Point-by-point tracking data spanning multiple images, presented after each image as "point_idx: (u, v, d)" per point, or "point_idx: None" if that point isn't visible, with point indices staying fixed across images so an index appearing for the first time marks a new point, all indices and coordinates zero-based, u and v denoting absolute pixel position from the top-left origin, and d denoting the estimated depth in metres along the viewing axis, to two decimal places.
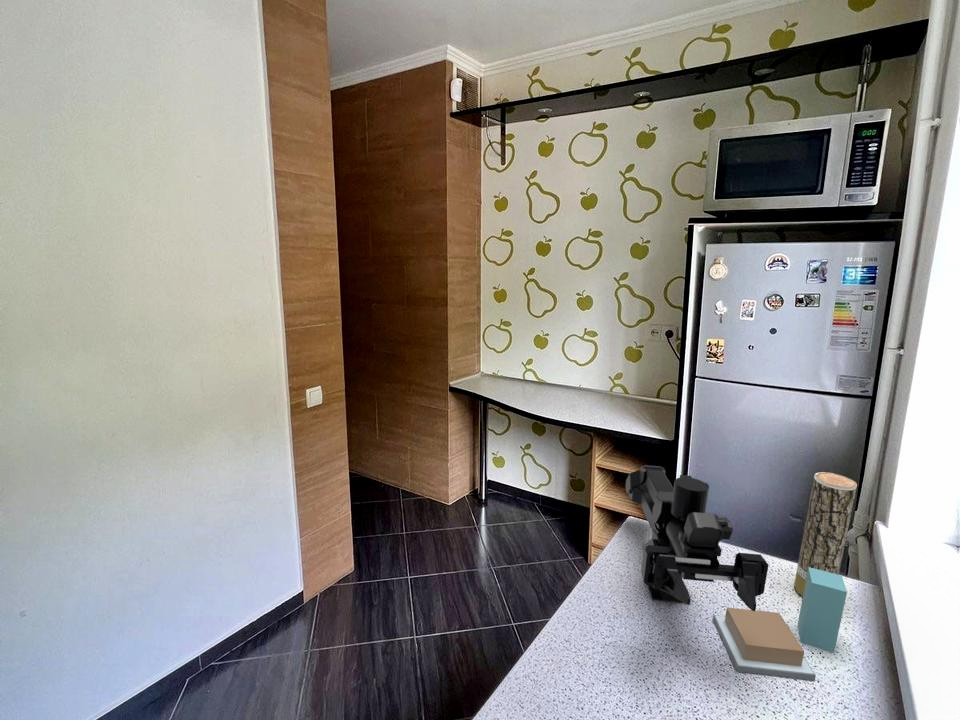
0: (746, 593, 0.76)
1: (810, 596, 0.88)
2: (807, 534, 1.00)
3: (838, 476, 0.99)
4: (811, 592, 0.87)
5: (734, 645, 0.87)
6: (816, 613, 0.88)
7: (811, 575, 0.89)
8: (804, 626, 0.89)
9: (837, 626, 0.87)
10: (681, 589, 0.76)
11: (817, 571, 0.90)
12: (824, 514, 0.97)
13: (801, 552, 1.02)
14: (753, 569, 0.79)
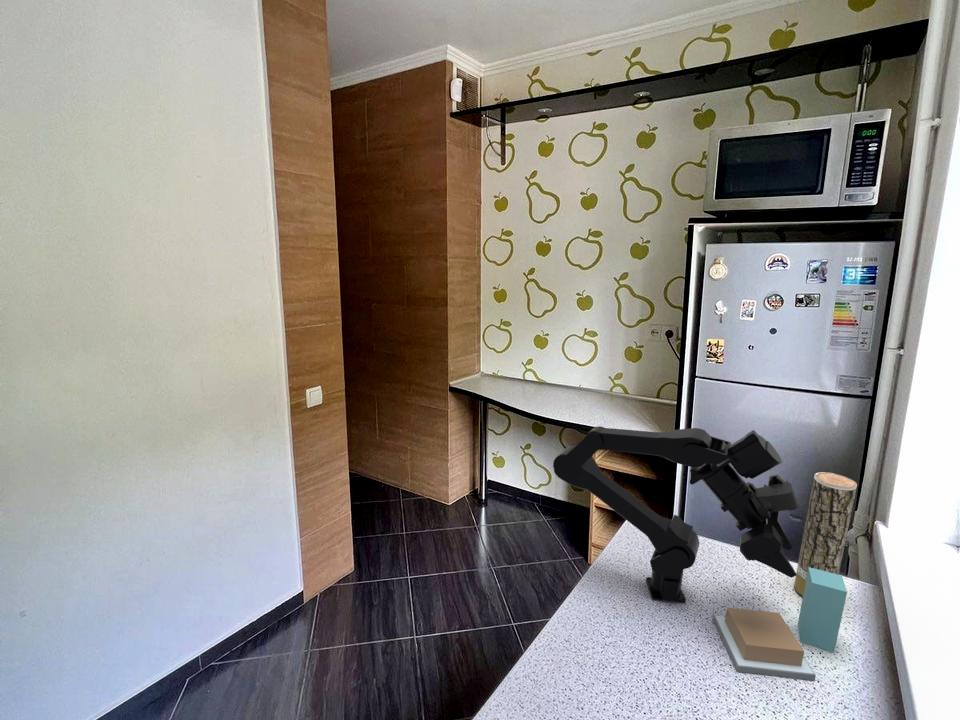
0: (779, 535, 0.94)
1: (810, 596, 0.88)
2: (807, 534, 1.00)
3: (838, 476, 0.99)
4: (811, 592, 0.87)
5: (734, 645, 0.87)
6: (816, 613, 0.88)
7: (811, 575, 0.89)
8: (804, 626, 0.89)
9: (837, 626, 0.87)
10: (790, 567, 0.85)
11: (817, 571, 0.90)
12: (824, 514, 0.97)
13: (801, 552, 1.02)
14: None
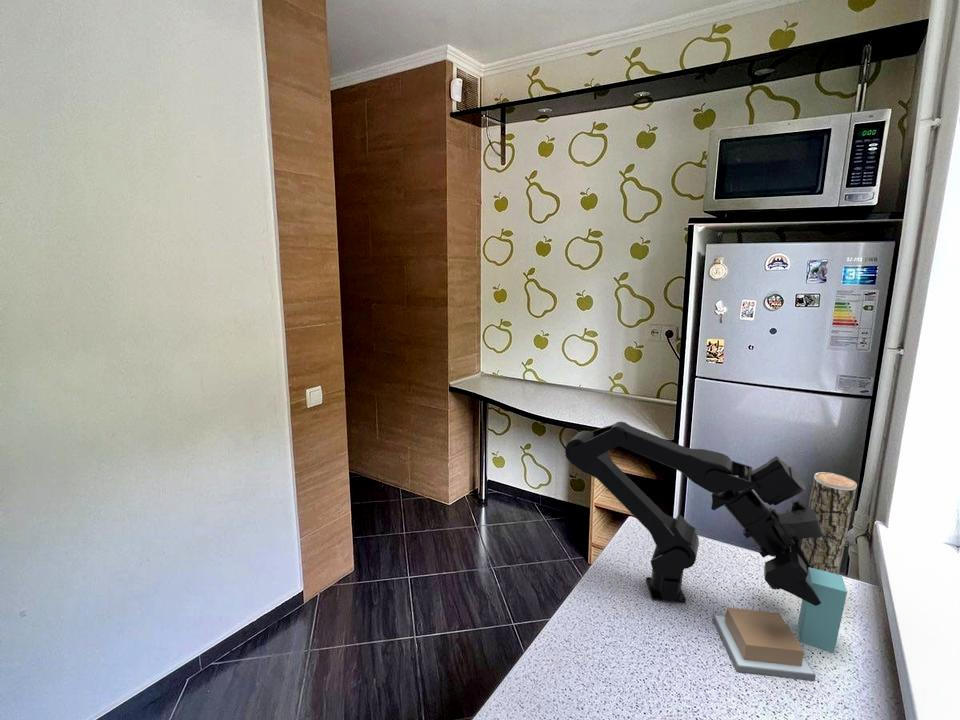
0: None
1: None
2: None
3: (838, 476, 0.99)
4: None
5: (734, 645, 0.87)
6: (816, 613, 0.88)
7: (811, 575, 0.89)
8: (804, 626, 0.89)
9: (837, 626, 0.87)
10: (815, 595, 0.85)
11: (817, 571, 0.90)
12: (824, 514, 0.97)
13: None
14: None
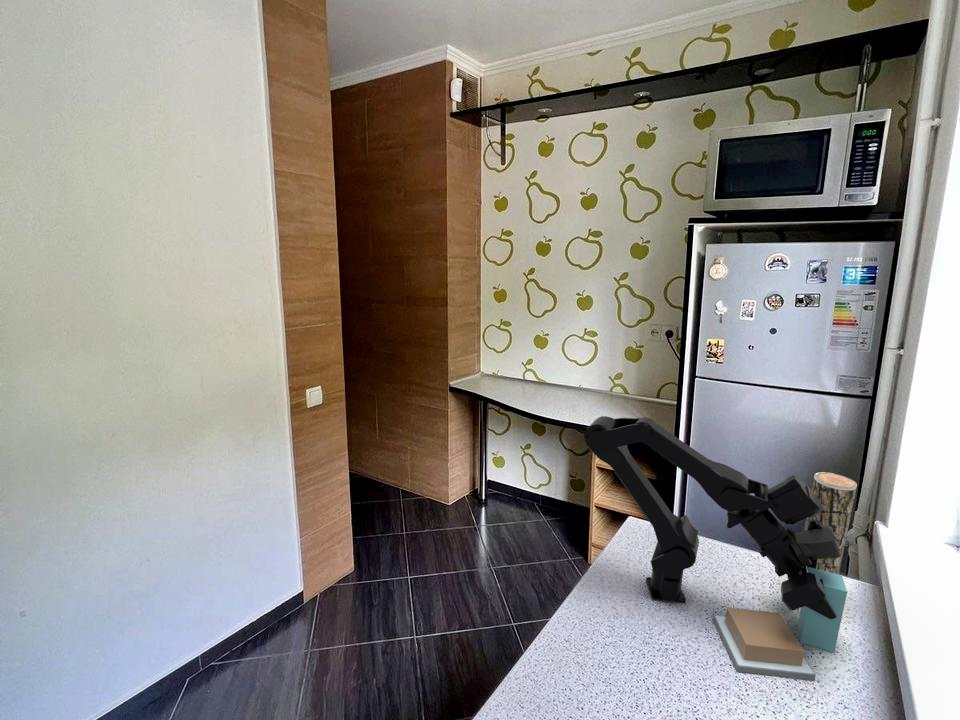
0: None
1: None
2: None
3: (838, 476, 0.99)
4: None
5: (734, 645, 0.87)
6: (817, 613, 0.88)
7: None
8: (804, 626, 0.89)
9: (837, 626, 0.87)
10: (830, 609, 0.86)
11: (817, 570, 0.90)
12: (824, 514, 0.97)
13: None
14: None
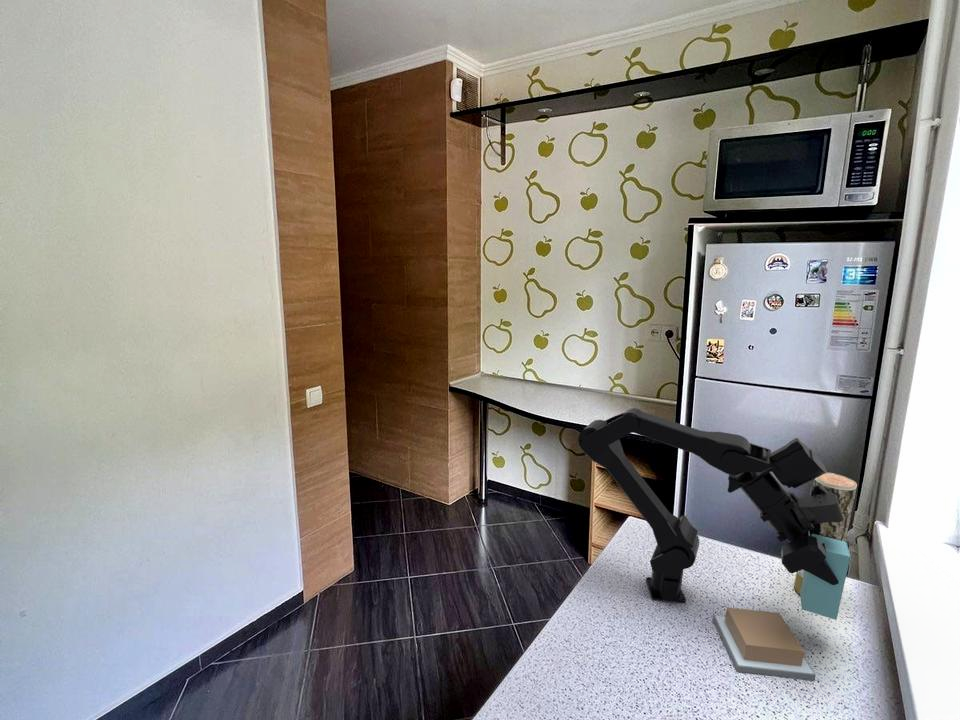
0: None
1: None
2: None
3: (838, 476, 0.99)
4: None
5: (734, 645, 0.87)
6: (819, 578, 0.86)
7: None
8: (806, 592, 0.87)
9: (840, 592, 0.85)
10: (832, 575, 0.84)
11: (821, 537, 0.88)
12: None
13: None
14: None
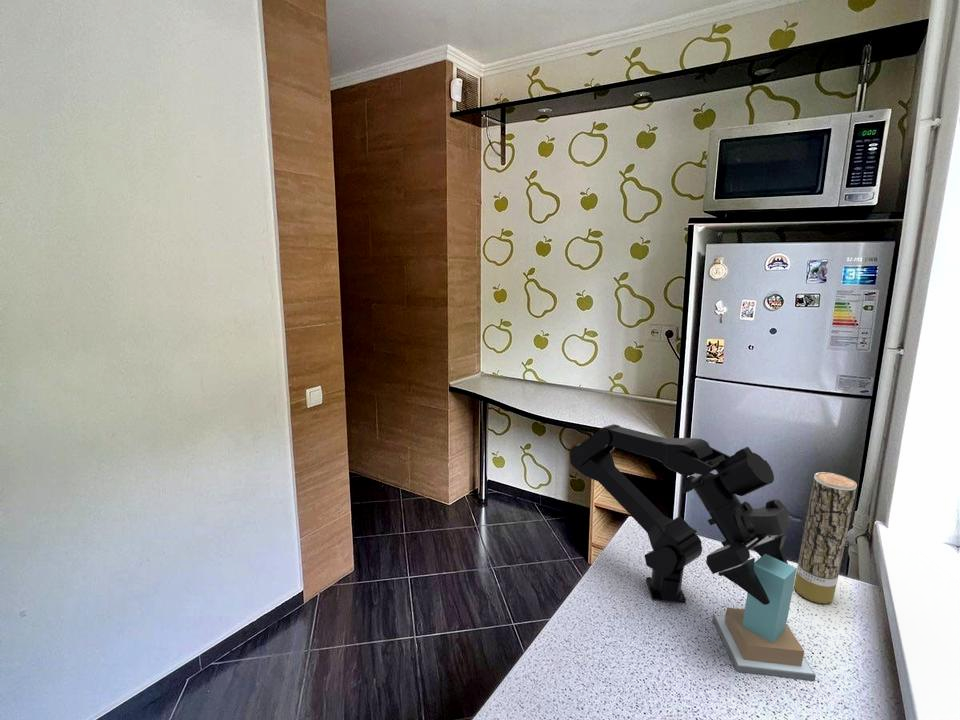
0: None
1: None
2: (807, 534, 1.00)
3: (838, 476, 0.99)
4: None
5: (734, 645, 0.87)
6: None
7: (759, 559, 0.86)
8: (745, 609, 0.87)
9: (775, 615, 0.83)
10: (762, 593, 0.81)
11: (771, 558, 0.87)
12: (824, 514, 0.97)
13: (801, 552, 1.02)
14: (783, 540, 0.89)
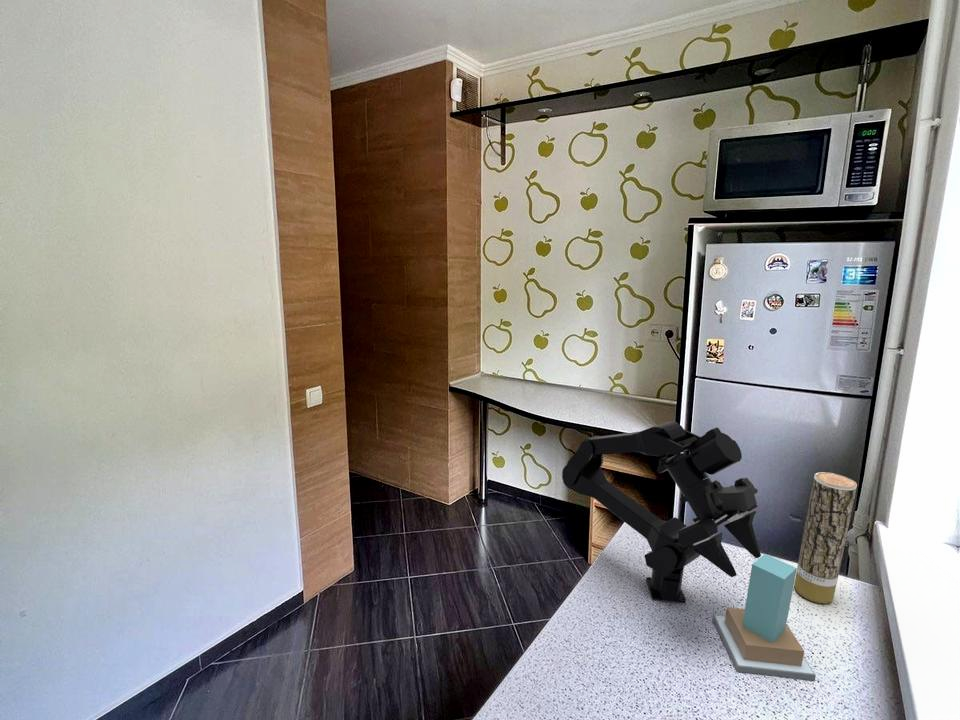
0: (749, 541, 0.92)
1: (751, 578, 0.85)
2: (807, 534, 1.00)
3: (838, 476, 0.99)
4: (751, 574, 0.85)
5: (734, 645, 0.87)
6: (756, 597, 0.85)
7: (759, 559, 0.86)
8: (745, 609, 0.87)
9: (775, 615, 0.83)
10: (729, 566, 0.85)
11: (771, 558, 0.87)
12: (824, 514, 0.97)
13: (801, 552, 1.02)
14: (752, 517, 0.93)
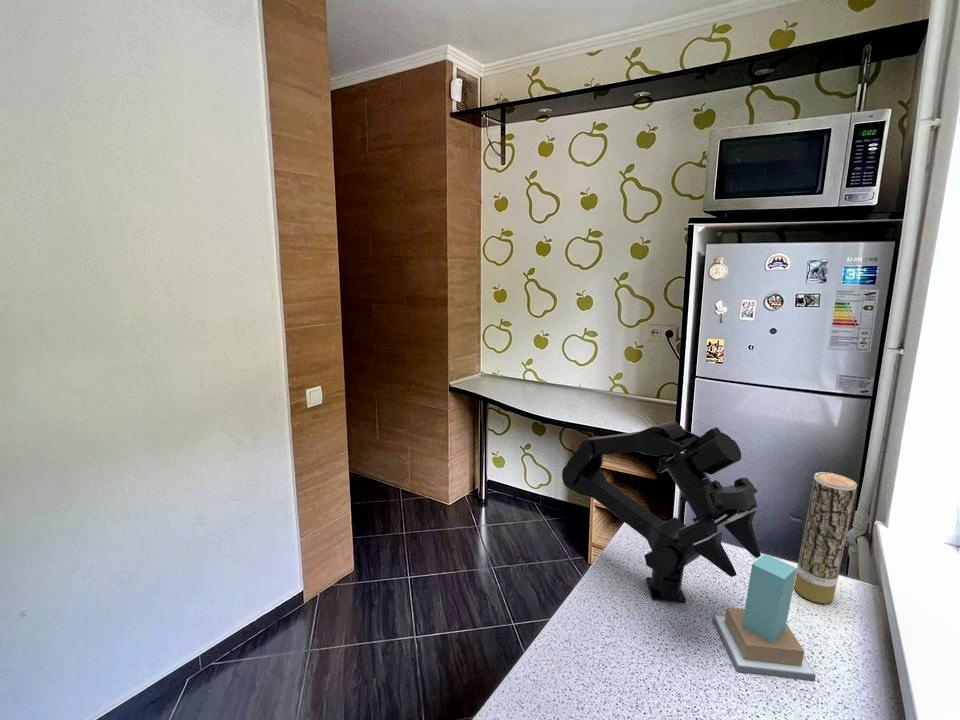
0: (748, 540, 0.92)
1: (751, 578, 0.85)
2: (807, 534, 1.00)
3: (838, 476, 0.99)
4: (751, 574, 0.85)
5: (734, 645, 0.87)
6: (756, 597, 0.85)
7: (759, 559, 0.86)
8: (745, 609, 0.87)
9: (775, 615, 0.83)
10: (728, 565, 0.85)
11: (771, 558, 0.87)
12: (824, 514, 0.97)
13: (801, 552, 1.02)
14: (752, 517, 0.93)
